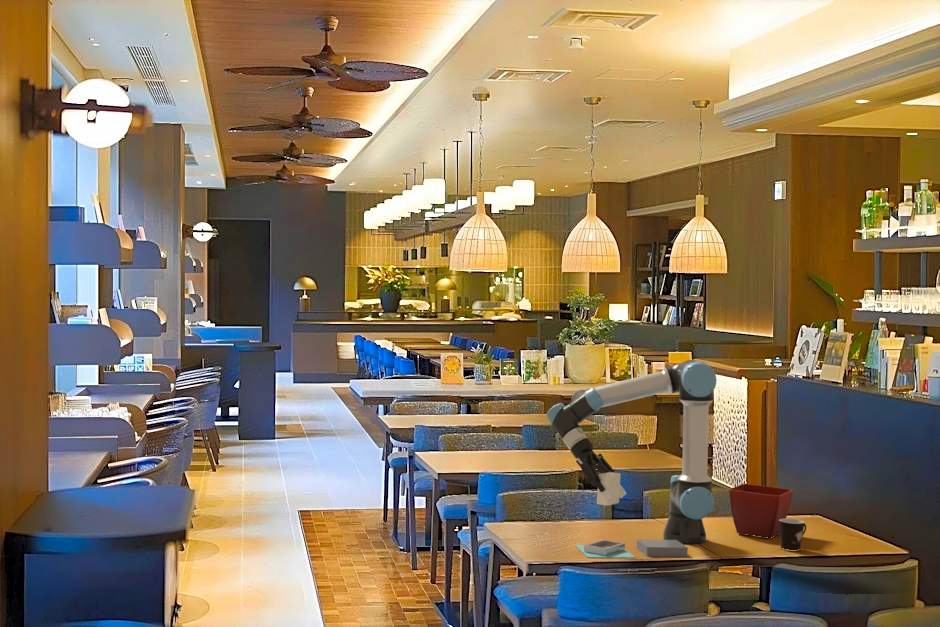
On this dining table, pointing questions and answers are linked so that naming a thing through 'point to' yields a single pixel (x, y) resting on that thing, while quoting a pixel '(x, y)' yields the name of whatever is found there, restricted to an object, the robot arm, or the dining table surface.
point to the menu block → (613, 485)
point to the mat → (616, 555)
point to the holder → (604, 547)
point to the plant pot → (759, 508)
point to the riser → (662, 548)
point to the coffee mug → (791, 533)
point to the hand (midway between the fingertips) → (617, 497)
